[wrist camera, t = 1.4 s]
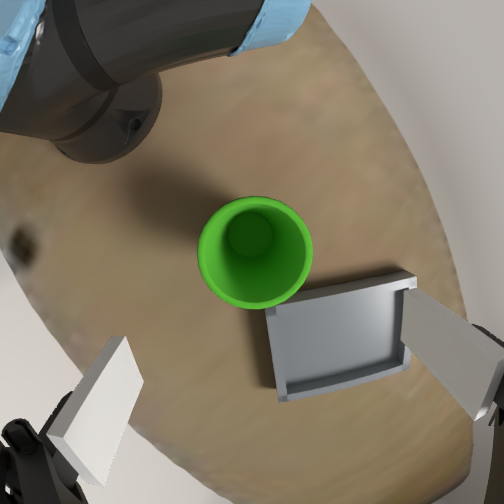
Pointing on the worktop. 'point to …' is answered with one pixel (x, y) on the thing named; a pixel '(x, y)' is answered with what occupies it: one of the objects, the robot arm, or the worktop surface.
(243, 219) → the cup
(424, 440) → the worktop surface
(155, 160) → the worktop surface
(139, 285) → the worktop surface
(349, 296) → the grey tray
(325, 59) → the worktop surface
